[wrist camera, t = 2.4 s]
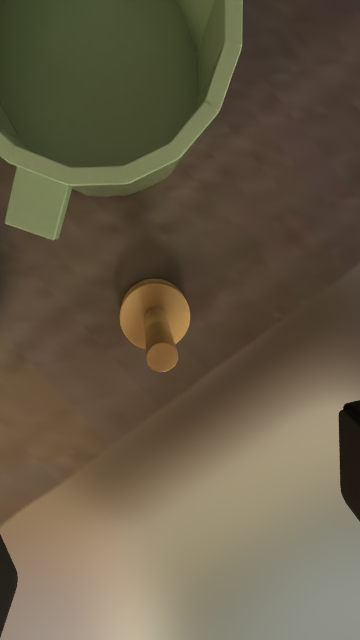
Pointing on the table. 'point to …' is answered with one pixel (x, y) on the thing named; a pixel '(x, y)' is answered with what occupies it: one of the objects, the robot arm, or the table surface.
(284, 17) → the table surface
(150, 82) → the pot
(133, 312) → the disc with rod handle
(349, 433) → the robot arm
